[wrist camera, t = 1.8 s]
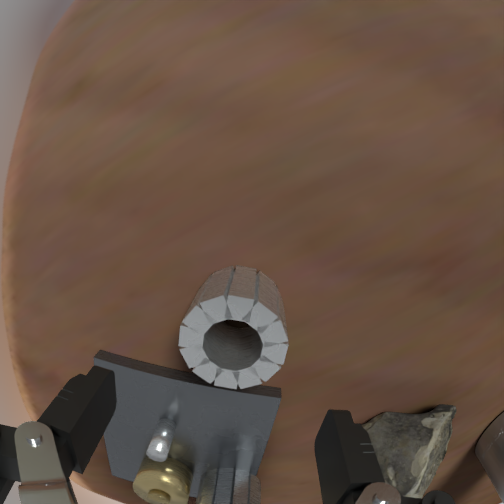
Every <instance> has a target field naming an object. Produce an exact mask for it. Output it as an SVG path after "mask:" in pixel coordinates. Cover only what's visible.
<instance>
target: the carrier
mask: <svg viewBox="0 0 504 504" xmlns="http://www.w3.org/2000/svg"><path fill="white" fill-rule="evenodd" d="M95 365H96V366H100V367H103V368H106V369H109V370H113V371H114V373H115V385H116V398H117V404H116V409H115V413H114V415H113V417H112V419H111V421H110V422H109V424H108V426H107V428H106V430H105V432H104V439H105V444H106V449H107V454H108V459H109V464H110V468H111V472H112V475H113V476H116V477H119V478H122V479H125V480H129V481H132V482H134V483H133V490H134V491H135V493H136V494H137V495H138V496H139V497H141V498H142V499H144V500H145V501H147V502H149V503H151V504H187V503H188V499H189V496H191V497H196V498H197V494H198V489H199V484H200V479H201V477H202V476H203V474H204V473H205V472H206V471H209V470H212V469H216V468H218V469H219V468H234V470H235V469H236V468H237V469H240V470H244V471H248V472H249V473H252V474H253V475H255V476H256V474H257V471H258V468H259V465H260V463H261V460H262V457H263V454H264V451H265V448H266V445H267V442H268V439H269V436H270V433H271V430H272V426H273V423H274V420H275V417H276V414H277V411H278V407H279V404H280V401H281V388H276V387H269V386H261V385H255V386H251V387H247V388H243V389H240V387H239V385H238V384H237V389H232V388H226V387H220V386H215V385H214V383H215V380H214V381H213V382H212V383H211V384H210V383H208V382H207V381H205V380H204V379H202V378H201V377H200V376H198V375H197V374H193V373H189V372H184V371H180V370H175V369H171V368H166V367H162V366H158V365H154V364H150V363H146V362H142V361H138V360H134V359H131V358H127V357H123V356H120V355H116V354H113V353H110V352H106V351H103V350H100V351H99V352H98V353H97V354H96V355H95V356H94V366H95Z"/></svg>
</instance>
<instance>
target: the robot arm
mask: <svg viewBox="0 0 504 504" xmlns="http://www.w3.org/2000/svg"><path fill="white" fill-rule="evenodd" d="M116 404H117V398H116V385H115V373H114V371H113V370H109V369H106V368H103V367H100V366H96V365H95V366H93V367H92V369H91V370H90V371H89V372H88V374H87V375H86V376H85V375H83V374H79V375H77V376H75V377H73V378H72V379H70V380H69V381H68V382H67V383H66V385H65V386H64V387H63V390H61V391H60V392H59V394H58V396H56V397H55V399H54V400H53V401H52V402H51V404H50V405H49V406H48V408H47V409H46V410H45V411H44V413H43V414H42V415H41V417H40V418H39V419H38V420H37V422H36V421H30V422H25V423H23V424H21V425H20V426H19V427H18V428H15V427H10V426H5V425H1V424H0V504H3V503H4V501H5V499H6V497H7V495H8V493H9V491H10V490H11V488H12V486H13V484H14V482H15V481H18V482H21V485H19V487H18V489H19V496H20V501H21V504H78V503H77V500H76V497H75V494H74V492H73V488H72V485H71V483H70V479H69V476H70V475H71V473H72V471H76V472H78V473H81V474H83V472H84V470H85V468H86V466H87V464H88V462H89V460H90V458H91V456H92V455H93V453H94V451H95V449H96V447H97V445H98V443H99V441H100V439H101V437H102V436H103V434H104V432H105V430H106V428H107V426H108V424H109V422H110V421H111V419H112V417H113V415H114V413H115V409H116ZM371 443H372V442H371V440H370V437H369V434H368V432H367V431H366V430H365V429H364V428H363V426H362V425H361V424H354V422H353V419H352V416H351V413H350V411H348V410H328V412H327V414H326V416H325V418H324V421H323V423H322V425H321V427H320V430H319V432H318V434H317V436H316V440H315V456H316V462H317V468H318V474H319V481H320V487H321V493H322V500H323V504H455V502H454V500H453V498H452V497H451V496H450V495H449V494H447V493H446V492H443V491H437V490H436V491H431V492H429V493H427V494H426V495H425V496H424V497H423V498H422V499H421V498H413V497H405V496H401V495H400V494H399V492H398V491H397V489H396V488H394V487H393V486H391V485H390V484H387V483H385V480H384V477H383V474H382V471H381V468H380V465H379V462H378V460H377V457H376V454H375V453H374V448H373V445H371ZM475 454H476V456H477V458H478V459H479V461H480V463H481V464H482V466H483V468H484V469H485V471H486V473H487V475H488V477H489V478H490V480H491V482H492V483H493V485H494V487H495V489H496V491H497V492H498V494H499V496H500V498H501V499H502V501H503V503H504V412H503V413H502V414H501V415H500V416H498V417H497V418H496V419H495V420H494V421H493V422H492V424H491V425H490V426H489V427H488V428H487V429H486V431H485V432H484V433H483V435H482V436H481V438H480V439H479V441H478V443H477V445H476V448H475Z"/></svg>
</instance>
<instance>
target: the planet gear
mask: <svg viewBox="0 0 504 504" xmlns="http://www.w3.org/2000/svg"><path fill="white" fill-rule="evenodd" d="M228 319H231V320H237V321H242V322H246V323H247V324H248V325H250V326H248V327H245V328H237V327H232V326H229V325H228V324H226V323H225V322H224V320H228ZM288 345H289V344H288V334H287V327H286V320H285V312H284V305H283V301H282V298H281V295H280V292H279V290H278V287H277V285H276V286H275V282H274V281H273V280H271V279H270V278H269V277H268V276H266V275H265V274H264V273H263V272H261V271H260V270H259V272H258V273H257V274H256V268H250V267H244V266H239V265H237V266H236V269H234V267H233V266H230V267H227V268H224V269H221V270H218V271H215V272H214V274H211V275H210V276H209V278H208V279H207V280H206V281H205V282H204V283H203V285H202V286H201V287H200V289H199V290H198V292H197V294H196V296H195V298H194V300H193V302H192V304H191V306H190V307H189V309H188V311H187V313H186V315H185V317H184V319H183V321H182V323H181V325H180V335H179V346H181V347H180V349H179V350H180V352H181V354H182V356H183V358H184V359H185V361H186V363H187V365H188V367H189V368H193V370H192V372H194V373H195V374H197V375H198V376H200V377H201V378H202V379H204V380H205V381H207V382H208V383H210V384H211V383H212V382H213V381H214V380H215V383H214V385H215V386H220V387H226V388H232V389H237V384H238V385H239V387H240V389H243V388H247V387H251V386H255V385H259V384H262V380H264V381H265V382H266V381H267V380H268V379H269V378H270V377H272V376H273V375H274V374H275V373H276V372H277V371H278V370H279V369H280V368H281V364H284V360H285V356H286V352H287V349H288Z"/></svg>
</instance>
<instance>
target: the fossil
mask: <svg viewBox="0 0 504 504" xmlns="http://www.w3.org/2000/svg"><path fill="white" fill-rule="evenodd" d="M455 414H456V407H455V406H453V405H444V404H441V405H438V406H437V407H435V408H434V409H433V410H432V411H430V412H428V413H423V414H406V413H398V412H385V413H382V414H380V415H378V416H376V417H374V418H373V419H371V420H370V421H369V422H368V423H365V424H363V425H362V426H363V428H364V429H365V430H366V431H367V432H368V434H369V437H370V440H371V442H372V443H371V445H373V448H374V453H375V454H376V457H377V460H378V462H379V465H380V468H381V471H382V474H383V477H384V480H385V483H387V484H390V485H391V486H393V487H394V488H396V489H397V491H398V492H399V494H400V495H401V496H405V497H413V498H421V499H422V497H423V494H424V493H425V490H426V489H427V488H428V486H429V485H430V483H431V481H432V479H433V477H434V476H435V474H436V471H437V468H438V466H439V465H440V463H441V462H442V461H443V459H444V456H445V454H446V451H447V444H448V442H449V440H450V437H451V434H452V424H451V423H452V419H453V418H454V415H455Z"/></svg>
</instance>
